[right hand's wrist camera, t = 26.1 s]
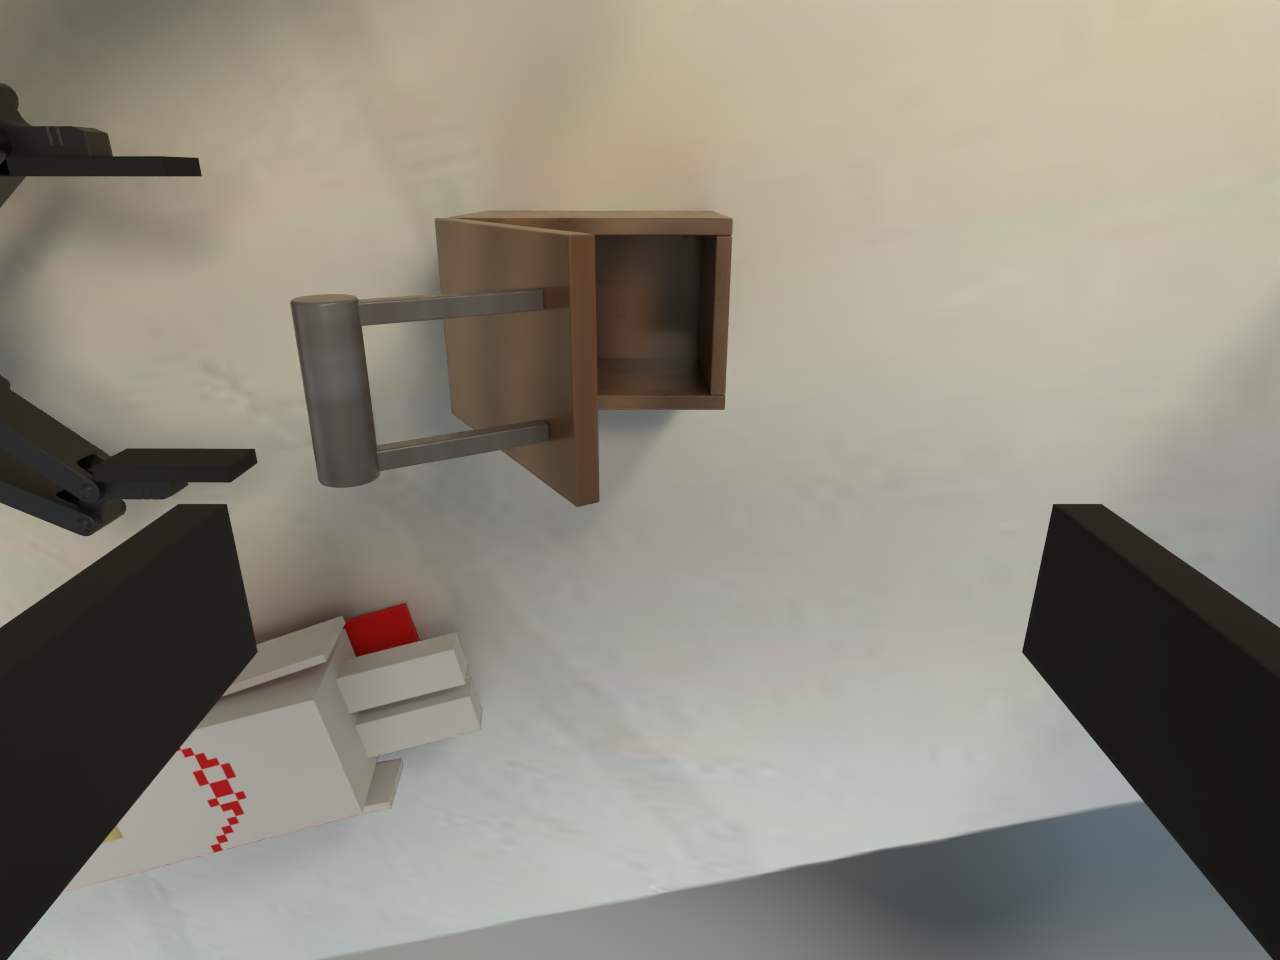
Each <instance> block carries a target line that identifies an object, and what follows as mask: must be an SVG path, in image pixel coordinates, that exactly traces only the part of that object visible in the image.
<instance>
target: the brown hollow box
mask: <svg viewBox="0 0 1280 960" xmlns="http://www.w3.org/2000/svg"><path fill="white" fill-rule="evenodd" d="M450 218H458V219H466V220H475V221H484V222H492V223H501V224H510V225H518V226H527V227H536V228H545V229H553V230H562V231H571V232H579V233H588V234H593V235H594V238H595V292H596V346H597V400H598V410H724V409H725V395H724V394H725V388H726V365H727V342H728V318H729V295H730V272H731V249H732V236H730V235H732V225H733V220H732V218H729V217H726V216H724V215H721V214H718V213H716V212H713V211H483V212H478V213H472V214H467V215H461V216H456V217H450Z"/></svg>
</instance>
